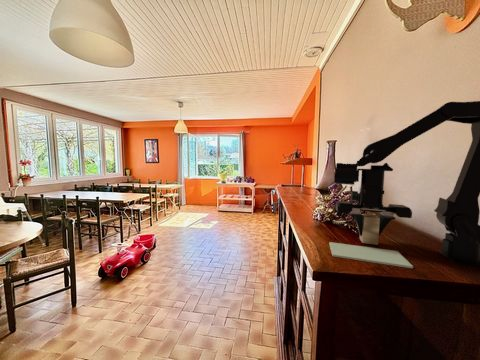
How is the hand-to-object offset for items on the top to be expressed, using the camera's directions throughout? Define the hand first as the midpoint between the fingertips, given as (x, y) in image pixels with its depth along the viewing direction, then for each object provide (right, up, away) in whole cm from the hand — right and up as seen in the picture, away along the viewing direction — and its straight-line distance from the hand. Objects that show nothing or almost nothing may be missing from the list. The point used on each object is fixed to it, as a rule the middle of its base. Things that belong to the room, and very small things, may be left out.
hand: (368, 236), depth 61 cm
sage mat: (-6, -3, -8) cm, 11 cm away
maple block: (0, -2, 0) cm, 2 cm away
